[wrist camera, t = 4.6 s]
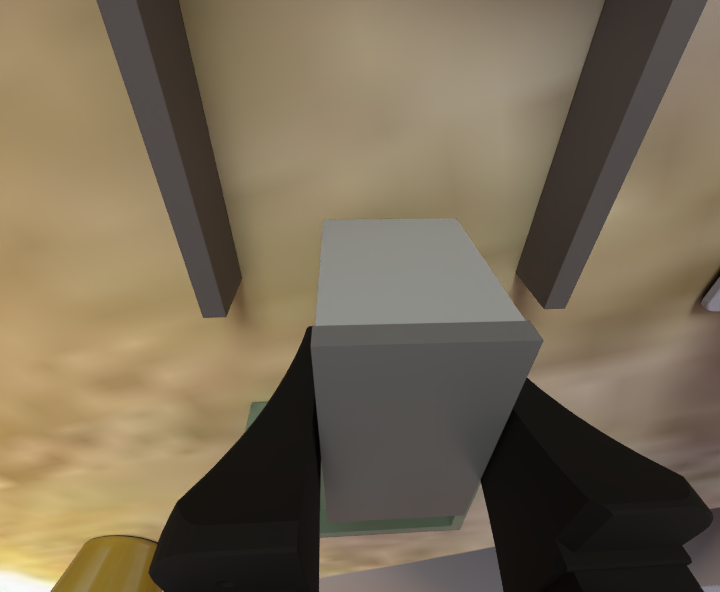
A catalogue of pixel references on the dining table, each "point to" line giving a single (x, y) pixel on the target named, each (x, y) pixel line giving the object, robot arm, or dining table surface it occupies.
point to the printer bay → (562, 188)
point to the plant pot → (110, 567)
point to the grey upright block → (411, 367)
